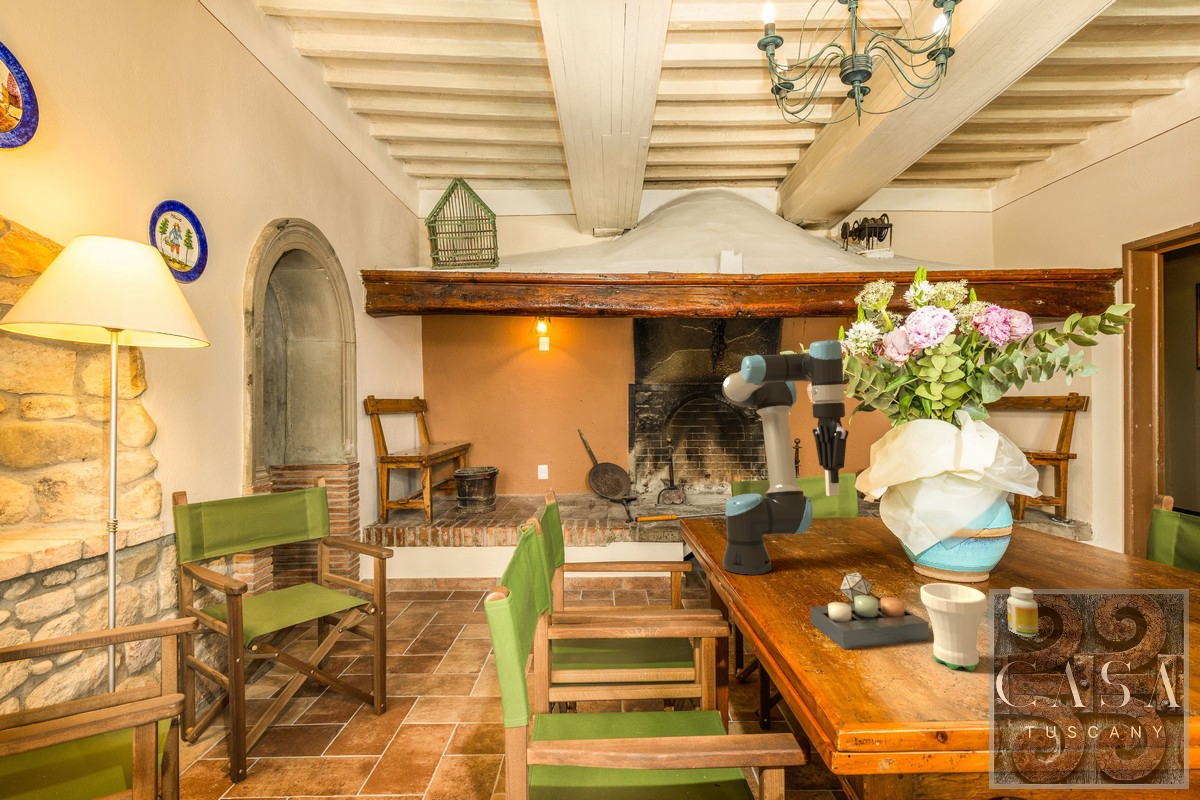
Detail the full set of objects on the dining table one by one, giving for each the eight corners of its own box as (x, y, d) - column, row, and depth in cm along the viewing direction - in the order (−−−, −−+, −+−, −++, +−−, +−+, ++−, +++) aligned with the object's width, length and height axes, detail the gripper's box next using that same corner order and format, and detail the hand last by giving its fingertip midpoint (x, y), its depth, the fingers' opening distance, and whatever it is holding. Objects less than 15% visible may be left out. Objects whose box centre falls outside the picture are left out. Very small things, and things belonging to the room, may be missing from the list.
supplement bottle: (1002, 629, 123) (1000, 587, 123) (1020, 626, 124) (1018, 584, 124) (1026, 639, 117) (1024, 595, 117) (1045, 635, 119) (1043, 592, 119)
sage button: (850, 610, 127) (850, 596, 127) (869, 608, 128) (869, 594, 128) (863, 617, 122) (862, 603, 122) (882, 615, 123) (882, 601, 123)
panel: (811, 623, 131) (810, 607, 131) (888, 616, 133) (887, 599, 133) (843, 649, 117) (842, 630, 117) (929, 640, 119) (928, 622, 119)
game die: (865, 618, 141) (882, 595, 135) (832, 605, 143) (847, 582, 137) (863, 591, 148) (879, 568, 143) (831, 579, 150) (846, 556, 144)
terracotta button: (876, 611, 128) (876, 598, 128) (895, 610, 128) (895, 596, 128) (890, 619, 123) (889, 605, 123) (909, 617, 124) (908, 603, 124)
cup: (959, 681, 102) (955, 605, 102) (910, 655, 113) (907, 587, 113) (1004, 670, 105) (1000, 597, 105) (952, 646, 116) (949, 579, 116)
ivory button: (824, 617, 126) (824, 603, 126) (844, 615, 127) (843, 601, 127) (836, 625, 121) (835, 610, 121) (856, 623, 122) (855, 609, 122)
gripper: (801, 403, 143) (806, 492, 143) (828, 402, 130) (832, 500, 130) (828, 401, 144) (832, 490, 144) (857, 401, 131) (862, 498, 131)
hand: (832, 495), depth 137 cm, fingers closed
